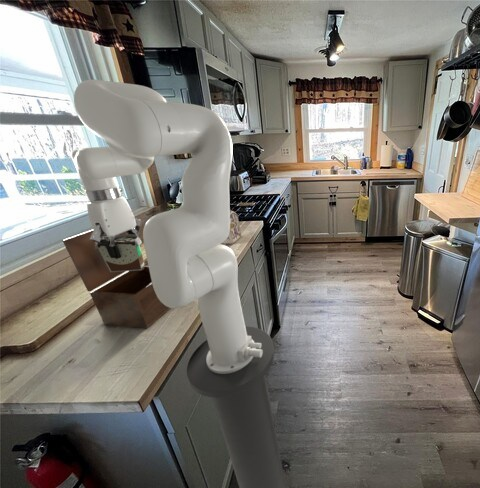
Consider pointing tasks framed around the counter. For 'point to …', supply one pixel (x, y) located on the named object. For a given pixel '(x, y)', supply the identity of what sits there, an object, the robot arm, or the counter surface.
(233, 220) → the decorative jar
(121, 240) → the food container
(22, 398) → the counter surface
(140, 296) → the chest
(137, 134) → the robot arm
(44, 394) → the counter surface
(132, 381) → the counter surface
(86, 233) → the lid
